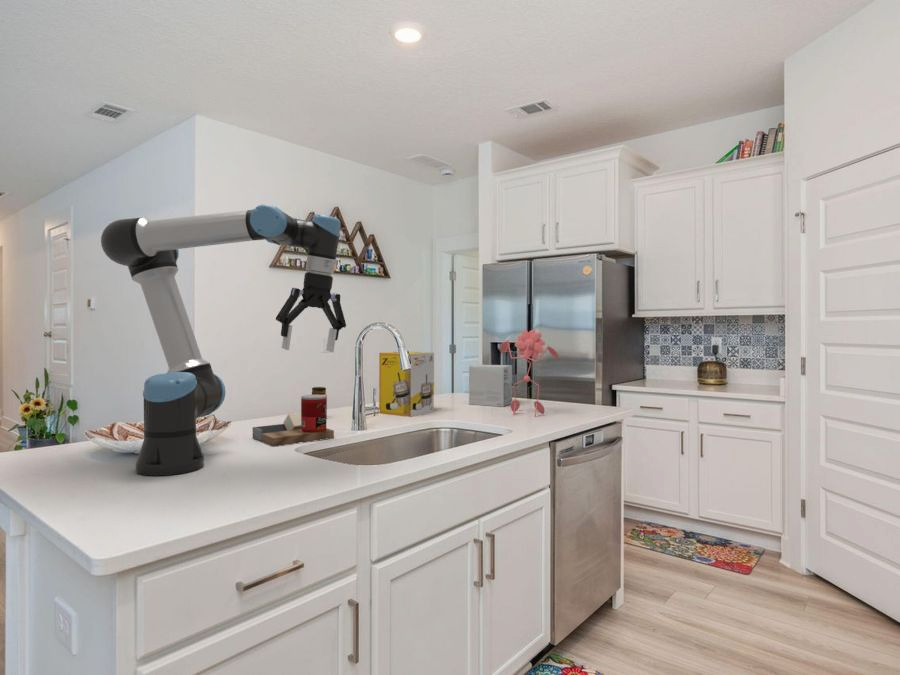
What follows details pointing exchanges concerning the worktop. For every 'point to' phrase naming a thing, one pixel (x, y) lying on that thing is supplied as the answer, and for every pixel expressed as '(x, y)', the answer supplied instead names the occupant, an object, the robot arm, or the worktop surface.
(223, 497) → the worktop surface
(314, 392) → the condiment
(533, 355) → the pink wire stick figure
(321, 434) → the board
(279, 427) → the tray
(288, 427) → the off-white block
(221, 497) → the worktop surface
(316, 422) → the canned food
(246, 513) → the worktop surface
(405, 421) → the worktop surface
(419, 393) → the packaging box
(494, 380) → the supplement box
